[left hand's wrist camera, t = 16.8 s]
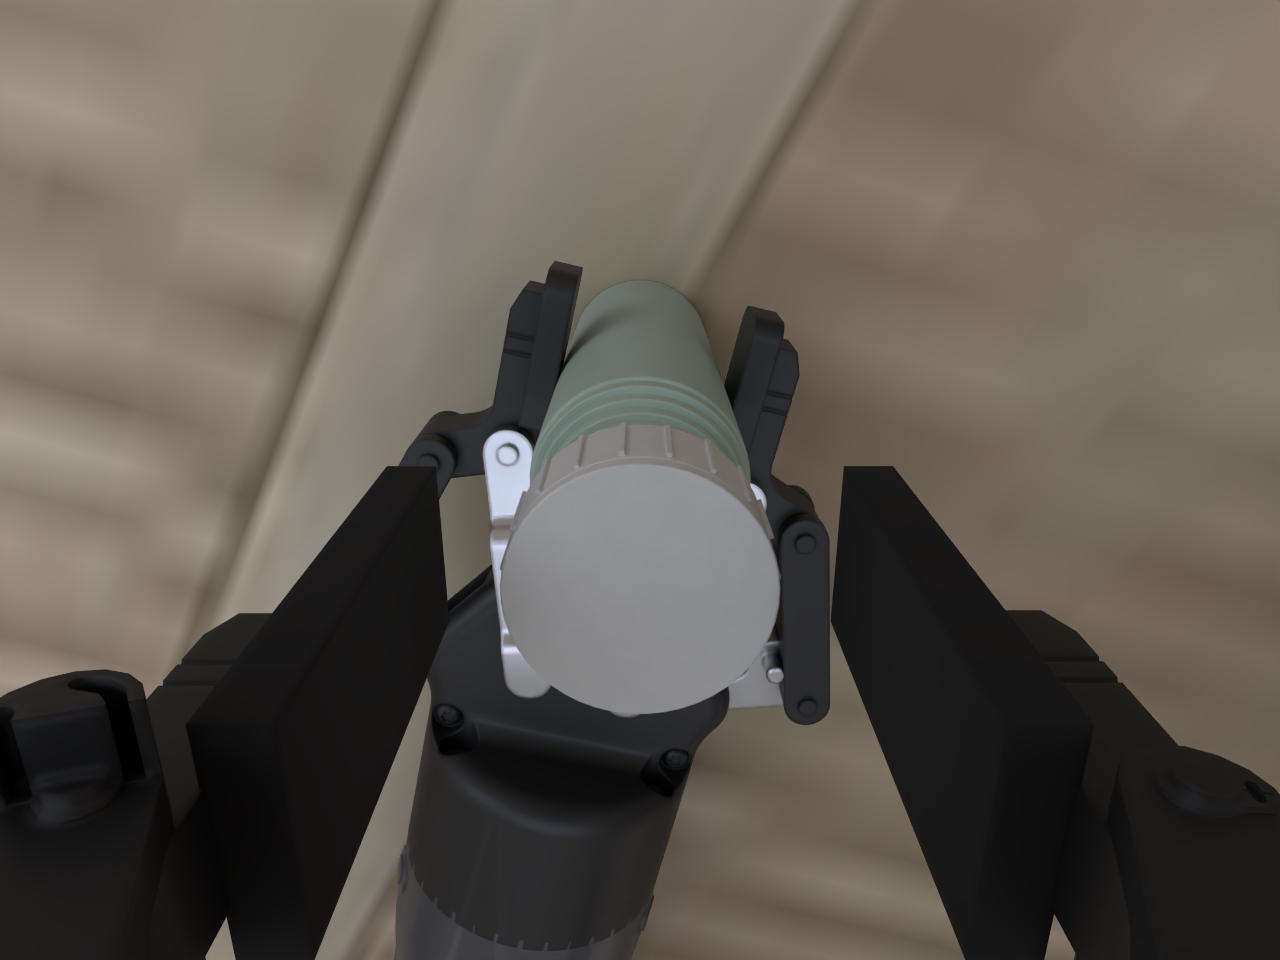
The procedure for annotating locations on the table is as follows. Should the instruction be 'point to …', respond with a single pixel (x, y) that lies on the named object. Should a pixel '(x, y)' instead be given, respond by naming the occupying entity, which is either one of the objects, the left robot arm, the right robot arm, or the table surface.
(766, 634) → the cap
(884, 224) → the table surface
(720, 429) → the bottle
